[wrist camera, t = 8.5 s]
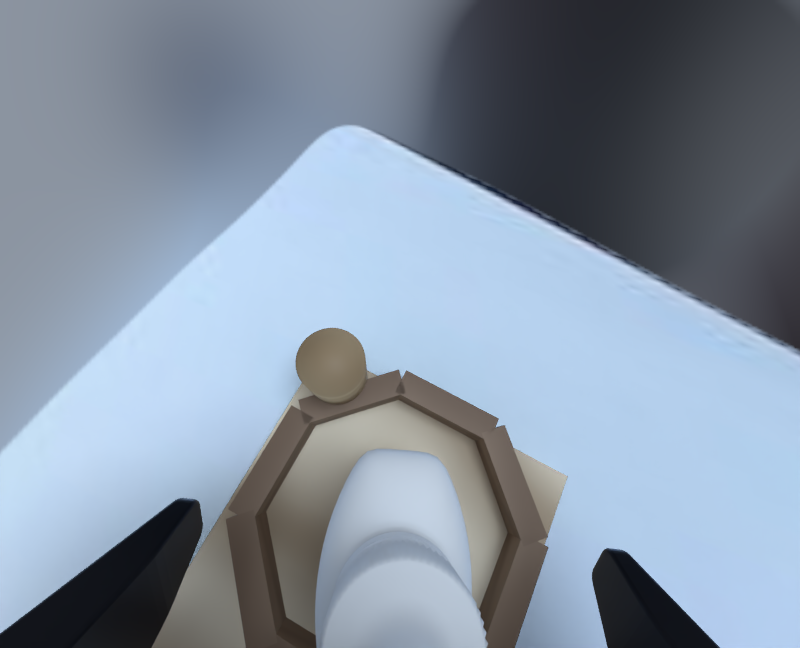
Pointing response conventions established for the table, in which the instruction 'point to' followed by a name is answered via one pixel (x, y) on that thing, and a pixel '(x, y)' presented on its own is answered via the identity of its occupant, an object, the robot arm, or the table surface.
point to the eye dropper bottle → (397, 560)
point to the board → (319, 491)
